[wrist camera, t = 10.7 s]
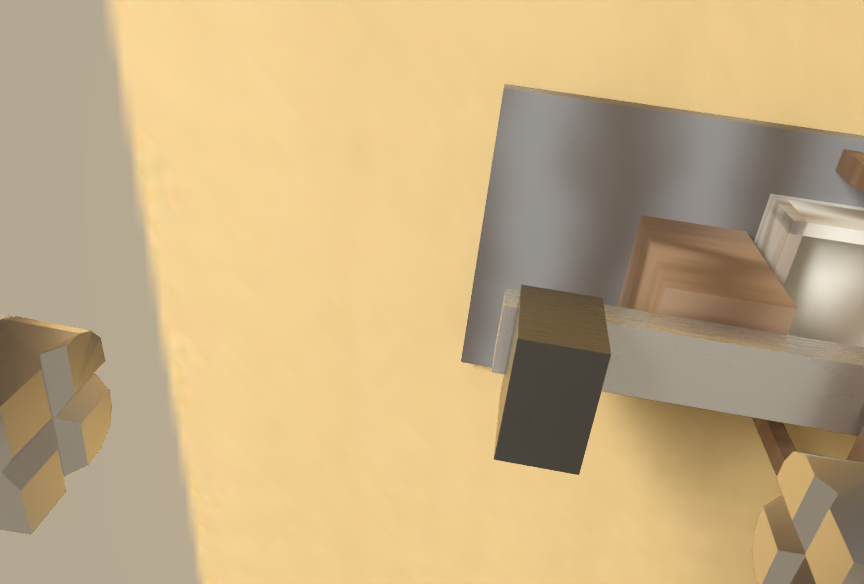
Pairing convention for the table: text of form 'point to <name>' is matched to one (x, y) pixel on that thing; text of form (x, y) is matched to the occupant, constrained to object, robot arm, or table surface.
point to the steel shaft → (653, 372)
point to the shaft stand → (674, 221)
